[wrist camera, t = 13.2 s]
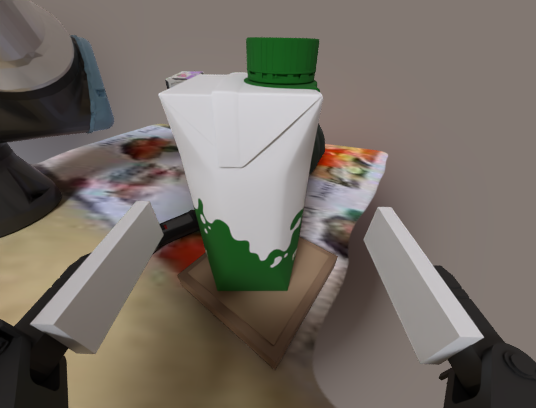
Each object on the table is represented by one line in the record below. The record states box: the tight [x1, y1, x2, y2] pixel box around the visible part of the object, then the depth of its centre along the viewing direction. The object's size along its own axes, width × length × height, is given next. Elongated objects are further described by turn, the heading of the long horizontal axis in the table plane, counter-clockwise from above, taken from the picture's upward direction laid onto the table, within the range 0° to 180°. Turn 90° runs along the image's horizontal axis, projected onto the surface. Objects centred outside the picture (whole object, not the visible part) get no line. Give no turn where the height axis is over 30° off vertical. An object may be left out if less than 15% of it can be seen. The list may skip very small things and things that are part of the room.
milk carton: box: [159, 37, 323, 291], centre depth 17 cm, size 9×9×20 cm
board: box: [177, 237, 338, 370], centre depth 24 cm, size 13×13×2 cm
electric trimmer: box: [79, 210, 200, 259], centre depth 28 cm, size 4×16×3 cm, turn 127°
